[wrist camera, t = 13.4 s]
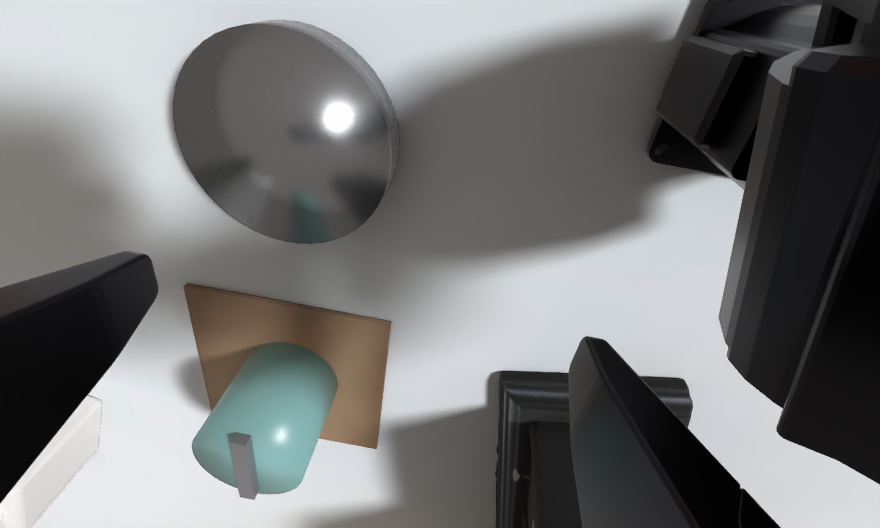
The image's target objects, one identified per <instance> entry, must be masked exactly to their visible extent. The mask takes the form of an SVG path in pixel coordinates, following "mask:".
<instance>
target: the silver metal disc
mask: <svg viewBox="0 0 880 528" xmlns="http://www.w3.org/2000/svg"><path fill="white" fill-rule="evenodd" d="M173 117H174V125H175V131H176V135H177V139H178V143H179V146H180V148H181V151H182V154H183V156H184V158H185V160H186V162H187V164H188V166H189V168H190V170H191V172H192V173H193V175H194V177H195V178H196V180H197V181H198V183H199V184H200V185H201V187H202V188H203V189H204V191H205V192H206V193H207V194H208V195H209V196H210V197H211V199H212V200H213V201H214V202H215V203H216V204H217V205H218V206H219V207H221V208H222V209H223V210H224V211H225V212H226V213H227V214H229V215H230V216H231V217H233V218H234V219H236V220H237V221H238V222H240V223H242V224H243V225H245V226H247V227H248V228H250V229H252V230H254V231H256V232H258V233H261V234H263V235H266V236H268V237H271V238H274V239H278V240H282V241H286V242H293V243H309V244H312V243H321V242H327V241H331V240H335V239H337V238H340V237H342V236H345V235H347V234H349V233H350V232H352V231H354V230H355V229H357V228H358V227H359V226H361V225H362V224H363V223H364V222H365V221H366V220H367V219H368V218H369V217H370V216H371V215H372V214H373V212H374V211H375V209H376V208H377V206H378V205H379V203H380V201H381V199H382V197H383V195H384V194H385V192H386V190H387V188H388V186H389V184H390V182H391V180H392V178H393V175H394V172H395V169H396V166H397V161H398V155H399V131H398V124H397V119H396V115H395V111H394V108H393V106H392V103H391V100H390V97H389V95H388V93H387V91H386V89H385V87H384V85H383V84H382V82H381V81H380V79H379V78H378V76H377V75H376V73H375V71H374V70H373V69H372V68H371V67H370V65H369V64H368V63H367V62H366V61H365V59H363V58H362V57H361V56H360V55H359V54H358V53H357V52H356V51H355V50H354V49H353V48H352V47H350V46H349V45H348V44H346V43H345V42H344V41H342V40H341V39H339V38H338V37H336V36H334V35H332V34H331V33H329V32H327V31H325V30H323V29H320V28H318V27H315V26H313V25H309V24H305V23H302V22H298V21H289V20H268V21H262V22H257V23H251V24H245V25H240V26H236V27H231V28H228V29H225V30H223V31H220V32H218V33H215V34H214V35H212V36H211V37H209V38H208V39H206V40H205V41H203V42H202V43H201V44H200V45H199V46H198V47H197V48H196V49H195V50H194V51H193V52H192V53H191V55H190V56H189V57H188V59H187V60H186V61H185V63H184V65H183V67H182V69H181V71H180V73H179V76H178V80H177V83H176V86H175V92H174V99H173Z"/></svg>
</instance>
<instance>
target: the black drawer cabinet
mask: <svg viewBox="0 0 880 528" xmlns="http://www.w3.org/2000/svg"><path fill="white" fill-rule="evenodd" d="M640 378H641V379H642V380H643V381H644V382H645V383H646V384H647V385H648V386H649V387H650V389H651V390H652V391H653V392H654V393H655V394H656V395H657V396H658V397H659V398H660V399H661V400H662V401H663V402H664V404H665V405H666V406H667V407H668V408H669V409H670V410H671V411H672V412H673V413H674V414H675V415H676V416H677V417H678V419H679V420H680V421H681V422H682V423H683V424H684V425H685V426H686V427H687V428H688V425H689V422H690V418H691V412H692V409H693V403H692V400H691V397H690V393H689V388H688V386H687V384H686V382H685V381H684V379H669V378H651V377H640ZM499 386H500V388H499V423H498V426H499V427H498V431H499V432H498V447H497V453H498V461H497V469H496V474H495V475H496V478H497V481H496V528H583V527H582V520H581V513H580V506H579V499H578V492H577V485H576V479H575V472H574V465H573V458H572V450H571V437H570V404H569V374H560V373H537V372H513V371H503V372H501V373H500V383H499Z"/></svg>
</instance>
